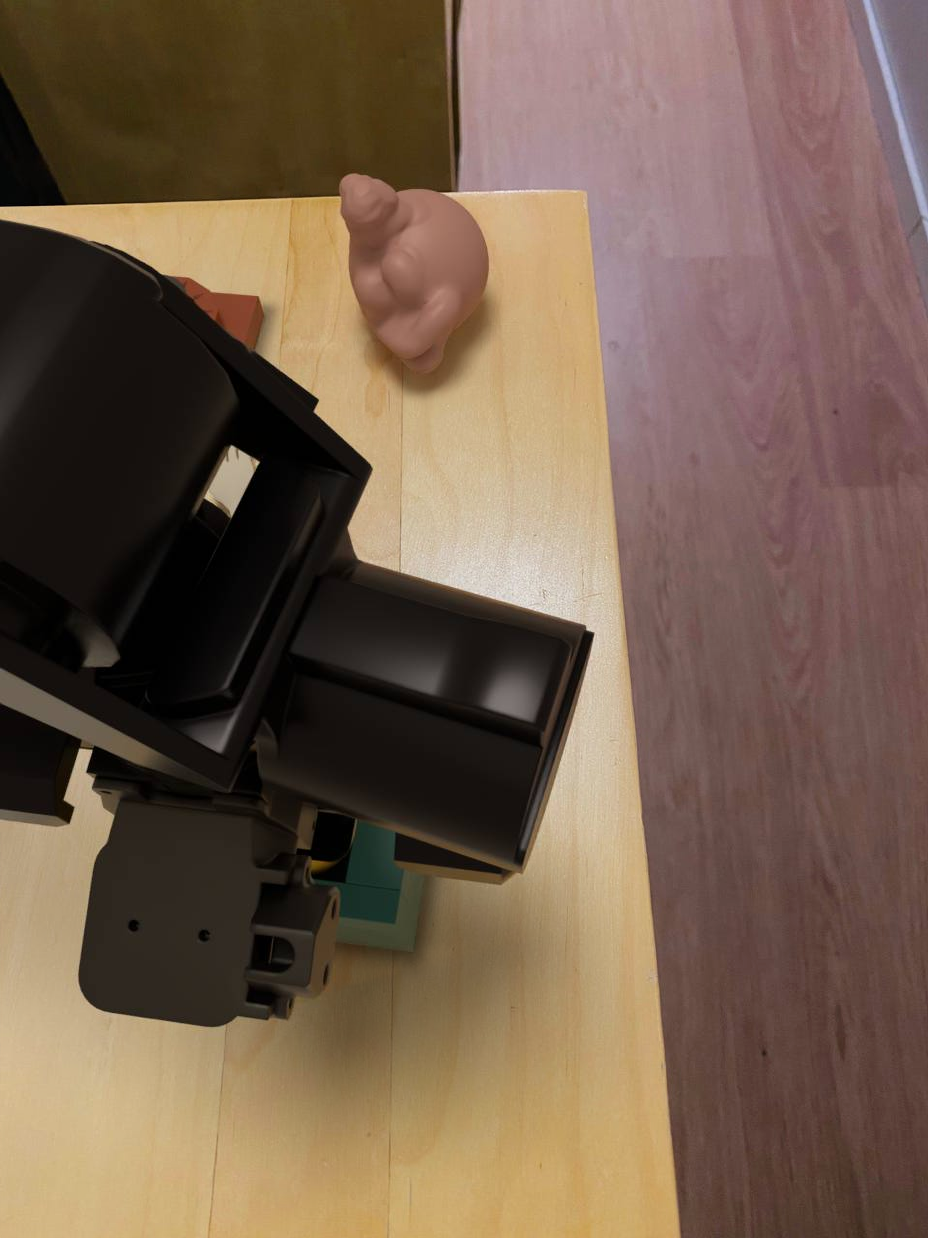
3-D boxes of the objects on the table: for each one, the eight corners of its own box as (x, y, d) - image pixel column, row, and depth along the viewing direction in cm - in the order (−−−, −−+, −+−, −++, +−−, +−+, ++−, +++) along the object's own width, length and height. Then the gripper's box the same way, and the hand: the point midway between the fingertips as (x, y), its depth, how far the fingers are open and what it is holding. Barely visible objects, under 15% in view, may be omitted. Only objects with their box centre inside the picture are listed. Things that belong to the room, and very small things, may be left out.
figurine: (359, 399, 64) (331, 259, 53) (357, 269, 69) (330, 116, 58) (496, 389, 64) (496, 247, 53) (484, 260, 69) (482, 105, 58)
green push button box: (238, 928, 50) (184, 896, 42) (268, 793, 53) (223, 737, 45) (413, 952, 50) (395, 925, 41) (434, 814, 52) (421, 762, 44)
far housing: (88, 395, 65) (67, 360, 62) (122, 301, 68) (104, 263, 65) (237, 409, 64) (223, 374, 61) (264, 313, 67) (252, 275, 64)
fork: (256, 727, 57) (246, 716, 55) (203, 418, 64) (191, 394, 61) (304, 716, 57) (297, 704, 55) (246, 409, 64) (237, 385, 61)
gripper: (-267, 933, 24) (17, 989, 38) (499, 1045, 22) (500, 1060, 37) (-97, 535, 29) (100, 717, 43) (547, 603, 27) (532, 769, 41)
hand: (297, 814), depth 41 cm, fingers closed
